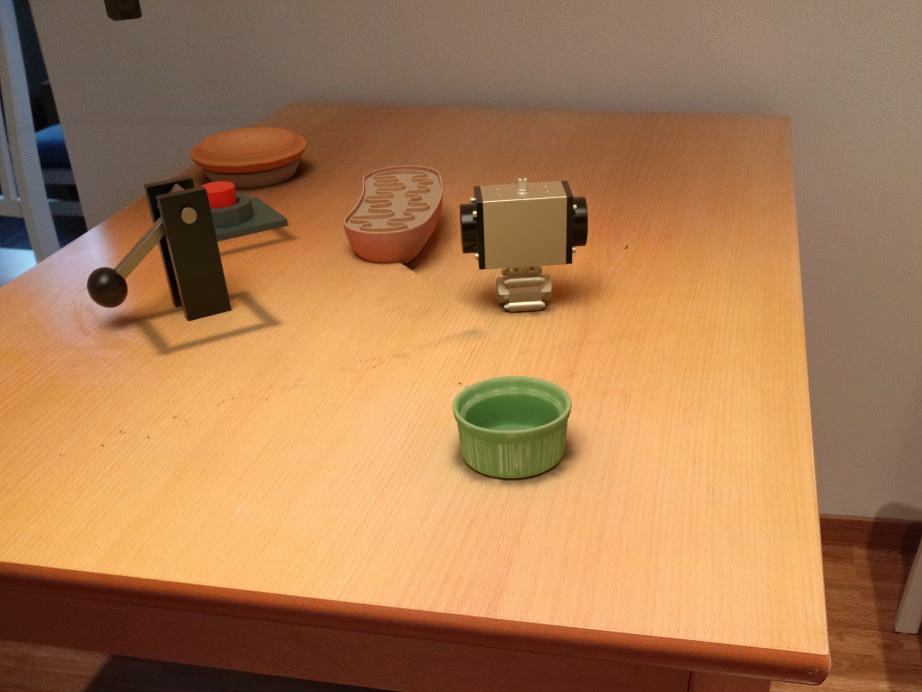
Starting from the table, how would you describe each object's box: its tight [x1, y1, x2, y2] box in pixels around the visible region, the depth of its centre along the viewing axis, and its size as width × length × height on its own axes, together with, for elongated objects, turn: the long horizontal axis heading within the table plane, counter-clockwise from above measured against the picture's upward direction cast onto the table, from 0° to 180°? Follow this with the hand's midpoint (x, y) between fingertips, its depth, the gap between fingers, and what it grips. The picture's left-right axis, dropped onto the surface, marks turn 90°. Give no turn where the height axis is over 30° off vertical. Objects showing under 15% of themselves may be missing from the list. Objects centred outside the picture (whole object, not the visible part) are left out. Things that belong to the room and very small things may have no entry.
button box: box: [211, 191, 289, 242], centre depth 118 cm, size 12×10×4 cm
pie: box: [188, 126, 308, 190], centre depth 135 cm, size 15×16×5 cm
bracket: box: [143, 175, 233, 322], centre depth 97 cm, size 11×9×13 cm
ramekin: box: [452, 375, 573, 479], centre depth 78 cm, size 9×9×4 cm
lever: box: [86, 184, 184, 309], centre depth 94 cm, size 13×4×4 cm
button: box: [200, 181, 238, 209], centre depth 116 cm, size 4×4×2 cm
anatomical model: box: [342, 164, 444, 265], centre depth 114 cm, size 23×10×5 cm, turn 177°
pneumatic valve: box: [459, 176, 589, 313], centre depth 97 cm, size 6×12×12 cm, turn 93°
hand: (125, 18), depth 105 cm, fingers closed
